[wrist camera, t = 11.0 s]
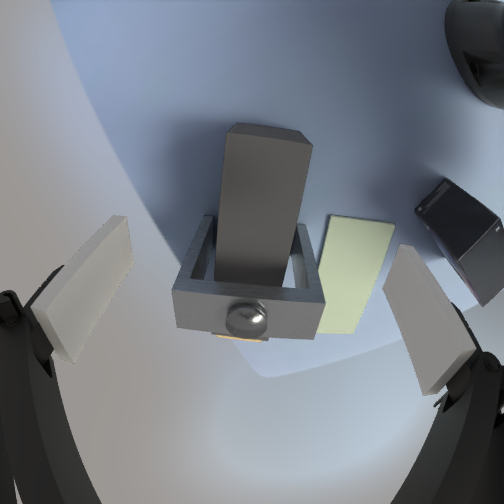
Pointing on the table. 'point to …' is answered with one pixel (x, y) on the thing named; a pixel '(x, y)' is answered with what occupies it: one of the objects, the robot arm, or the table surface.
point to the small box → (466, 238)
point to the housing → (248, 295)
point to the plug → (259, 205)
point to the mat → (350, 269)
